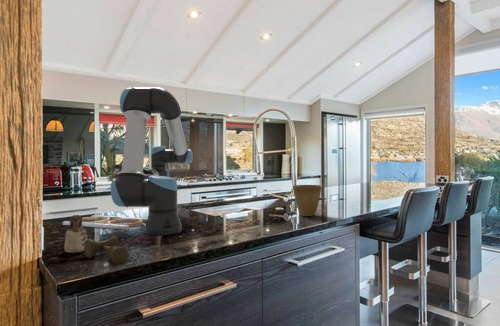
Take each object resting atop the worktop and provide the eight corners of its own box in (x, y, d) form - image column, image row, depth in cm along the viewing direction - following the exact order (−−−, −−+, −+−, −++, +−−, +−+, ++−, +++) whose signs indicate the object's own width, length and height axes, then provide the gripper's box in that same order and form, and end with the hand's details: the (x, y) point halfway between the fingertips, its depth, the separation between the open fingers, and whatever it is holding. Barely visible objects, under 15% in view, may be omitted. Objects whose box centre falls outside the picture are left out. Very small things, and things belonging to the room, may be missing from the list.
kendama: (104, 269, 98) (79, 253, 112) (135, 263, 105) (108, 249, 119) (104, 248, 98) (79, 235, 112) (136, 243, 105) (109, 231, 119)
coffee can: (125, 196, 154) (125, 164, 154) (107, 195, 158) (107, 164, 158) (141, 193, 164) (140, 164, 163) (123, 193, 168) (123, 164, 167)
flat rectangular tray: (152, 221, 167) (152, 218, 167) (126, 229, 149) (126, 226, 149) (93, 218, 179) (93, 215, 179) (62, 224, 161) (62, 221, 161)
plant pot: (321, 213, 188) (321, 184, 188) (321, 218, 173) (320, 186, 173) (294, 213, 191) (294, 184, 191) (291, 217, 177) (291, 186, 176)
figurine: (89, 246, 121) (88, 212, 121) (86, 251, 114) (86, 215, 114) (66, 248, 119) (66, 213, 119) (62, 253, 112) (62, 217, 112)
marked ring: (148, 222, 166) (148, 219, 166) (127, 228, 151) (127, 225, 151) (122, 220, 170) (122, 217, 170) (100, 226, 156) (100, 223, 156)
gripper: (166, 183, 174) (139, 187, 153) (129, 182, 181) (98, 186, 160) (166, 168, 174) (139, 170, 153) (129, 168, 181) (98, 170, 160)
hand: (118, 178), depth 157 cm, fingers closed on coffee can, 10 cm apart
